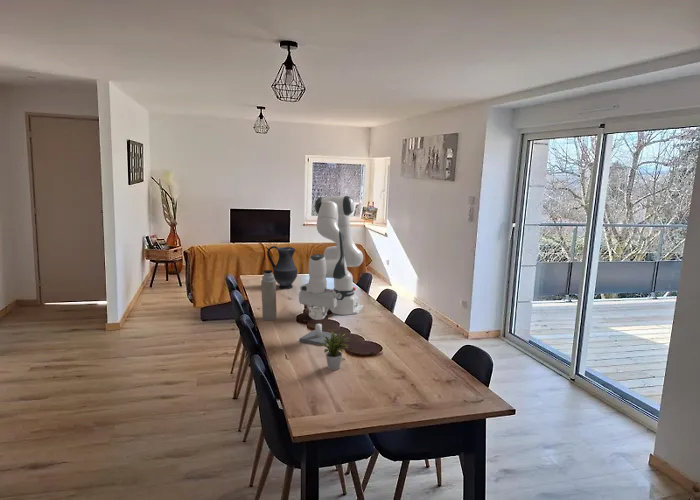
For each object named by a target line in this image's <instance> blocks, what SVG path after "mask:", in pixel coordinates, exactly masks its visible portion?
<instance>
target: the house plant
mask: <svg viewBox="0 0 700 500" xmlns="http://www.w3.org/2000/svg"><path fill="white" fill-rule="evenodd" d="M331 333H332V334H331V340H330V341H331V342H330V341H329V339H330V338H329V337H328V338H329V339H328V338H327V337H326V336H325V335H324V336H325V338H326V339H325V338H324V339H325V341H326V342H327V343H328V344H327V343H326V342H325V341H324V340H323V339H322V341H324V342H325V343H326V344H321V345H323V347H326V348H325V349H324V351H323V352H324V353H325V358H326V363H327V369H329V370H331V371H337V370H339V369H340V368H341V365H342V363H341V362H342V358H343V349H348V348H349V346H348V344H345V342H346V343H347V342H348V339H349V337H346V338H344V336H345V335H346V334H347V333H343V334H342V331H341V332H339V334H338V336H337V337H336V338H335V335H334V331H333V330H332V331H331ZM341 334H342V335H341ZM343 338H344V339H343ZM321 345H320V346H321Z"/></svg>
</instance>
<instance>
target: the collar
mask: <svg viewBox="0 0 700 500" xmlns="http://www.w3.org/2000/svg"><path fill="white" fill-rule="evenodd" d="M324 311H325V309H324V307H319V306H311V312H310V313H309V312H308V316H309V318H311V319H312V320H316V321H317V320H320V321H321V320H324V319H325V318H326V316H323V312H324Z"/></svg>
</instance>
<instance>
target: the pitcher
mask: <svg viewBox="0 0 700 500" xmlns="http://www.w3.org/2000/svg"><path fill="white" fill-rule="evenodd" d="M272 249H276V250H277V252H278V260H277V262H276V264H275V263H274V260H273V259H272V257H271V254H270V253H271V252H270V251H271V250H272ZM295 252H296V248H294V247H291V246H284V247H282V246H281V247H278V246H276V245H272V246H270V247H268V249H267V251H266V253H267V258H268V260H269V262H270V265H271V267H272V273H273V276H274V279H275V280H276V283H277V284H278V285H279V286H278V288H279V290H280V289H282V290H288V289H293V283H294V281H296V279H297V277H298V268H297V266H296V264H295V263H294V259H293V255H294V254H295Z"/></svg>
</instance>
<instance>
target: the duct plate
mask: <svg viewBox="0 0 700 500" xmlns="http://www.w3.org/2000/svg"><path fill="white" fill-rule="evenodd" d="M314 325H315V327H314V328H315V329H313V330H311V331H309V332H308V333H306V334H305V335H302V336H301V337H300V338H299V340H298V341H299V342H302V343H306V344H312V345H318V346H323V345H321V344H326V343H327V342H326V341H325V339H326V338H325V336H326V337H327V338H328V337H329V338H330V339H329V338H328V339H329V341H330V340H331V334H332V332H330V331H329V332H328V331H323V329H322V328H323V325H322V323H316V324H314ZM324 335H325V336H324ZM334 335H335V337H336V336H337V335H339V334H338V333H334ZM324 338H325V339H324ZM336 338H337V337H336ZM322 339H323V340H324V341H325V342H326V343H325V342H324V341H322ZM330 343H331V341H330ZM327 344H328V343H327ZM327 344H326V345H327ZM323 347H324V346H323Z"/></svg>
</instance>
